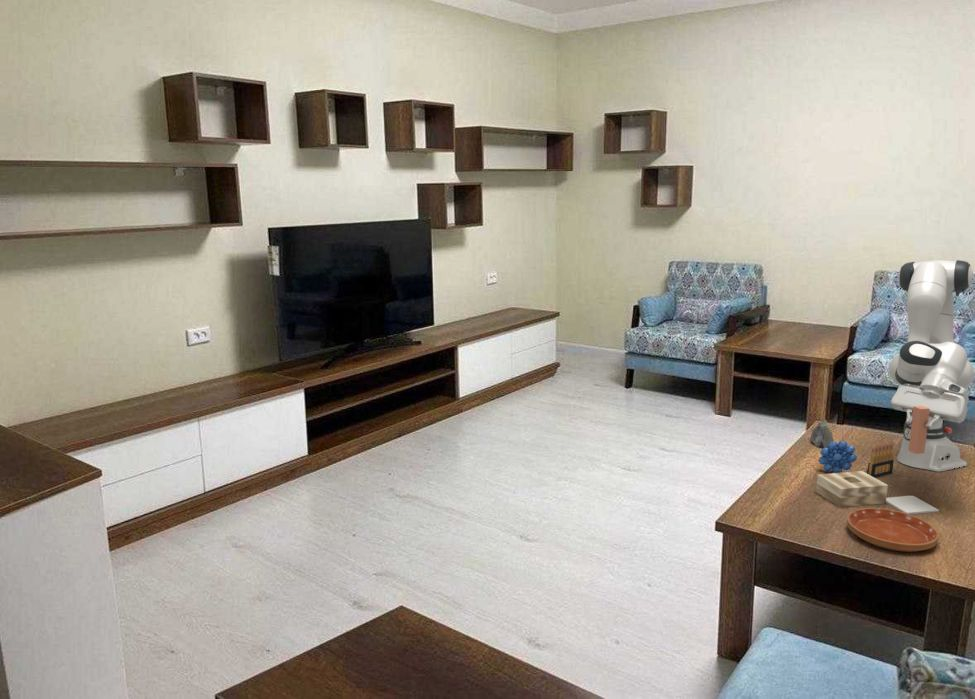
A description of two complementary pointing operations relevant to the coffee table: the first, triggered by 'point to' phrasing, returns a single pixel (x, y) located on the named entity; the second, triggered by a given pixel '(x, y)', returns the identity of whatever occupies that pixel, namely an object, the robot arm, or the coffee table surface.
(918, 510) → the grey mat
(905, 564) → the coffee table surface
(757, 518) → the coffee table surface
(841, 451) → the grapes
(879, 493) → the cream block with hole
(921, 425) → the wooden block
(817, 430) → the mineral rock
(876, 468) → the ammunition clip
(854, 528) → the saucer
